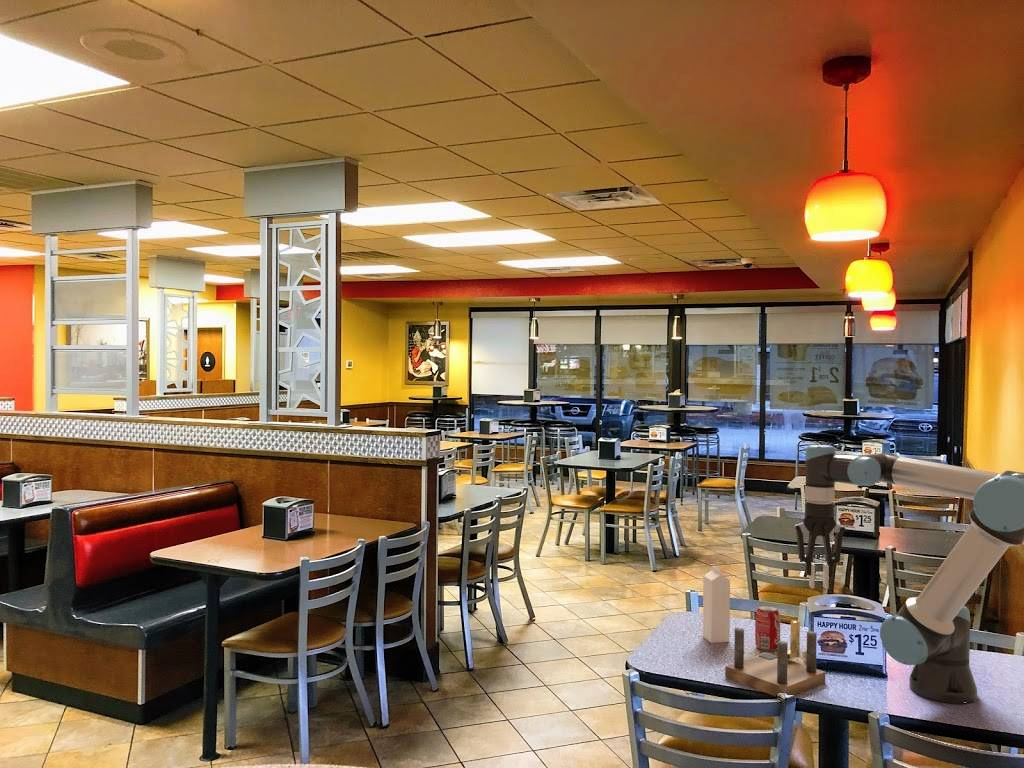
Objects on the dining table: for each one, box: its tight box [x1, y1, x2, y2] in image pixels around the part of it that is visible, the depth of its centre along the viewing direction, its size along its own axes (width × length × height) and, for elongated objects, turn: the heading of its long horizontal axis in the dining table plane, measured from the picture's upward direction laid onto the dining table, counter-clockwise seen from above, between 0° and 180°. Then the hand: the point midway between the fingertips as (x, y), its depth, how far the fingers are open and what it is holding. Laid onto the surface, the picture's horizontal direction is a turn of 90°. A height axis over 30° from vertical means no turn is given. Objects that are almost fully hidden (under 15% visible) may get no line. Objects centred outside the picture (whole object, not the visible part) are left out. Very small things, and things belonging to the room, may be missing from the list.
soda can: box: [754, 604, 781, 652], centre depth 231 cm, size 7×7×12 cm
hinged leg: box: [787, 619, 801, 660], centre depth 213 cm, size 5×2×9 cm, turn 127°
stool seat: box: [724, 627, 826, 697], centre depth 206 cm, size 18×18×13 cm
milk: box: [702, 565, 731, 644], centre depth 238 cm, size 6×6×22 cm
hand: (818, 587), depth 214 cm, fingers open, 3 cm apart
